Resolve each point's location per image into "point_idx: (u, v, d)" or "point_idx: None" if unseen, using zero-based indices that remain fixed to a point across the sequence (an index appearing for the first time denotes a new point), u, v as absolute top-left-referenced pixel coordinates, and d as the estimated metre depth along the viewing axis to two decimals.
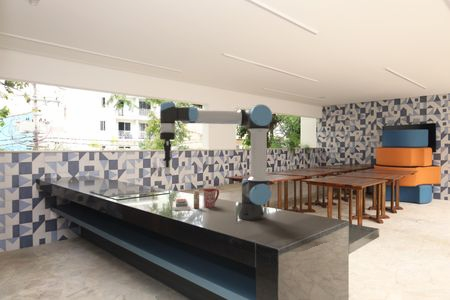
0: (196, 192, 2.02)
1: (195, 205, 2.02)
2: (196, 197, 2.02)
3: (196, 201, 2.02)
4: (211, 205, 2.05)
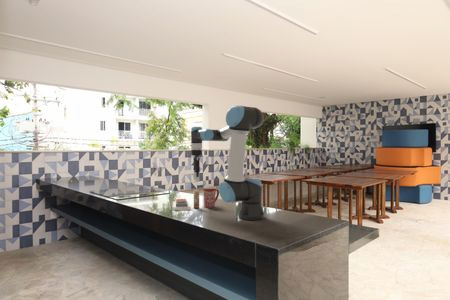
0: (196, 192, 2.02)
1: (195, 205, 2.02)
2: (196, 197, 2.02)
3: (196, 201, 2.02)
4: (211, 205, 2.05)
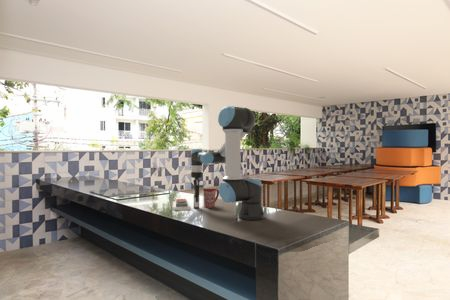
0: None
1: None
2: None
3: None
4: (211, 205, 2.05)
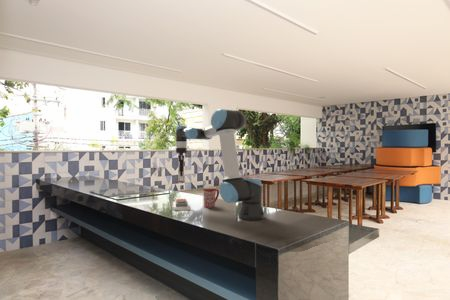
0: None
1: None
2: None
3: None
4: (211, 205, 2.05)
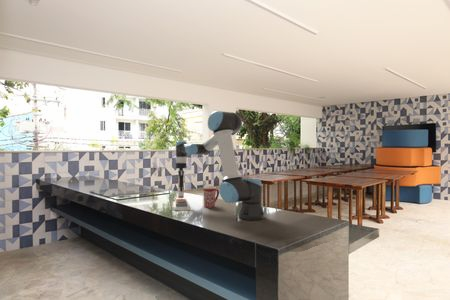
0: None
1: None
2: None
3: None
4: (211, 205, 2.05)
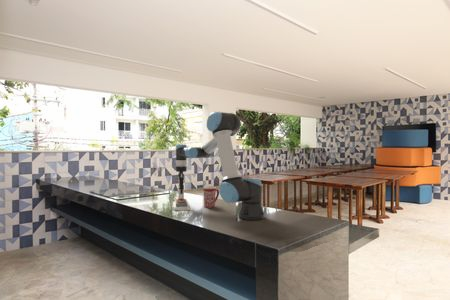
0: None
1: (180, 200, 2.12)
2: None
3: None
4: (211, 205, 2.05)
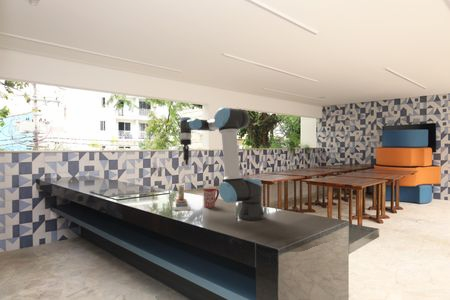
0: (181, 187, 2.12)
1: (180, 199, 2.12)
2: (181, 192, 2.12)
3: (181, 196, 2.12)
4: (211, 205, 2.05)
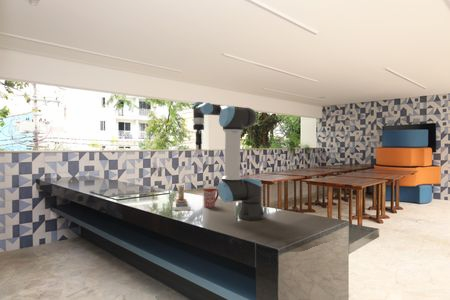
0: (181, 187, 2.11)
1: (180, 200, 2.12)
2: (181, 192, 2.12)
3: (181, 196, 2.12)
4: (211, 205, 2.05)
